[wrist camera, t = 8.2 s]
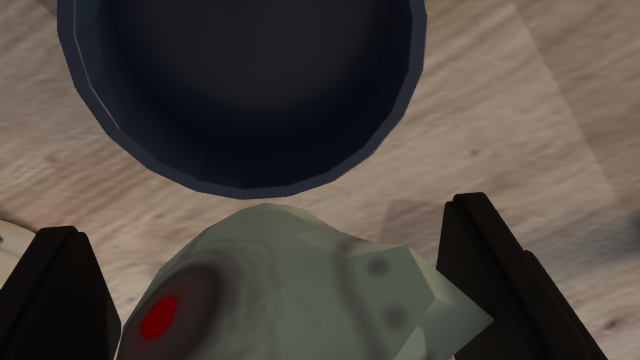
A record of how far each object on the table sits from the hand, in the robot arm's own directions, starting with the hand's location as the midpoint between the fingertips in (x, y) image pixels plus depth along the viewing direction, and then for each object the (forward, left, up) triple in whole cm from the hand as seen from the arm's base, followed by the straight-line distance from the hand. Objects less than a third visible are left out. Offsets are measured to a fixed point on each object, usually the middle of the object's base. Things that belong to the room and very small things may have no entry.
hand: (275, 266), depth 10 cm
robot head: (0, 0, -2) cm, 2 cm away
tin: (-1, +1, -18) cm, 18 cm away
